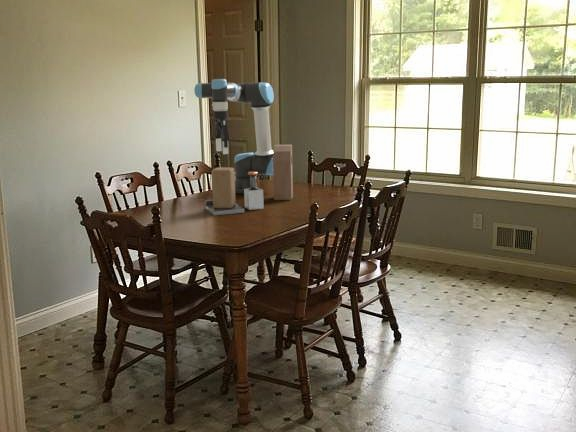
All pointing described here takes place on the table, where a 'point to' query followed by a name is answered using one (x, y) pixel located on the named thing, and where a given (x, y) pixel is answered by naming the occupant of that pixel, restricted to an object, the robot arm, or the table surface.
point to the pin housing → (254, 198)
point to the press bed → (223, 209)
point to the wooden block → (223, 187)
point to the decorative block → (282, 172)
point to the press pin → (253, 179)
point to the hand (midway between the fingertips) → (222, 152)
